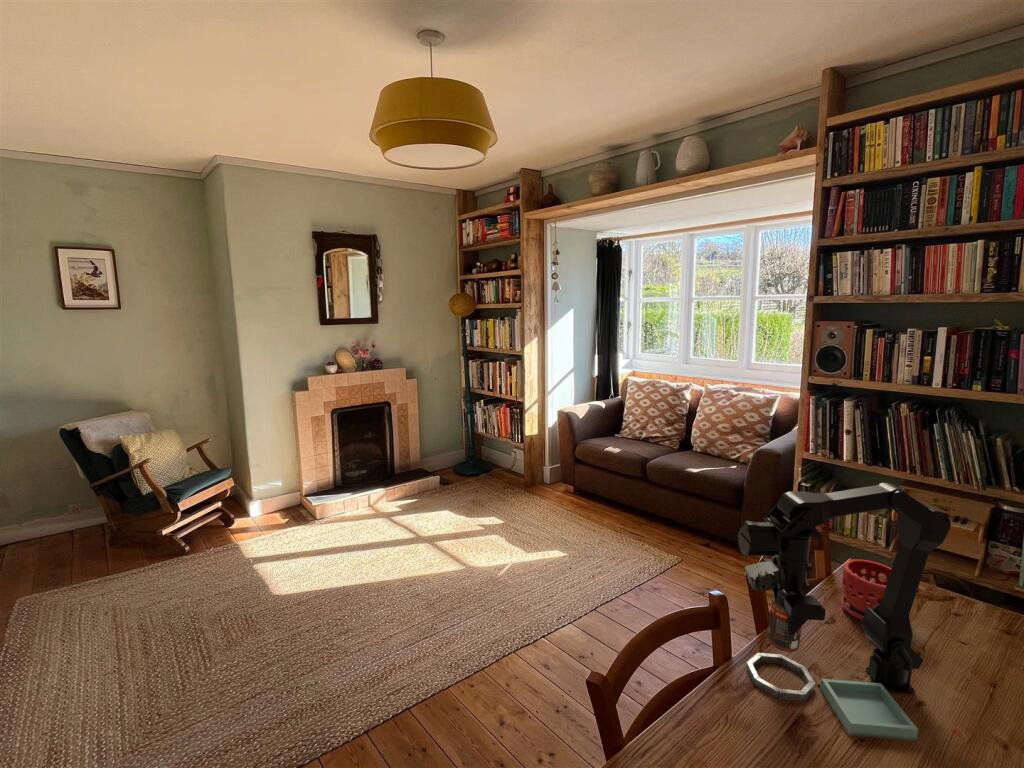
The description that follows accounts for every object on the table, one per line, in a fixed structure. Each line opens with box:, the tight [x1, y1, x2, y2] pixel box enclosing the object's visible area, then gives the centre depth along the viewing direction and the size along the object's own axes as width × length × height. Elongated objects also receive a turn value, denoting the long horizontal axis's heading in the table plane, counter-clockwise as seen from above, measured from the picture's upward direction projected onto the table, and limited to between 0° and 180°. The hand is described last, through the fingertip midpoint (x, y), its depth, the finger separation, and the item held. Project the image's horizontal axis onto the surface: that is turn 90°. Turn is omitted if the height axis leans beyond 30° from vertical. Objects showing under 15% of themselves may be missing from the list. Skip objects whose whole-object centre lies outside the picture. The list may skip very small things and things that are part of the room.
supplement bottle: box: [767, 590, 802, 653], centre depth 110 cm, size 6×6×11 cm
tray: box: [819, 678, 919, 742], centre depth 103 cm, size 12×12×2 cm
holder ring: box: [746, 652, 816, 702], centre depth 112 cm, size 12×12×2 cm
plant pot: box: [840, 559, 892, 621], centre depth 134 cm, size 13×13×12 cm
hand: (785, 624), depth 110 cm, fingers closed on supplement bottle, 6 cm apart
